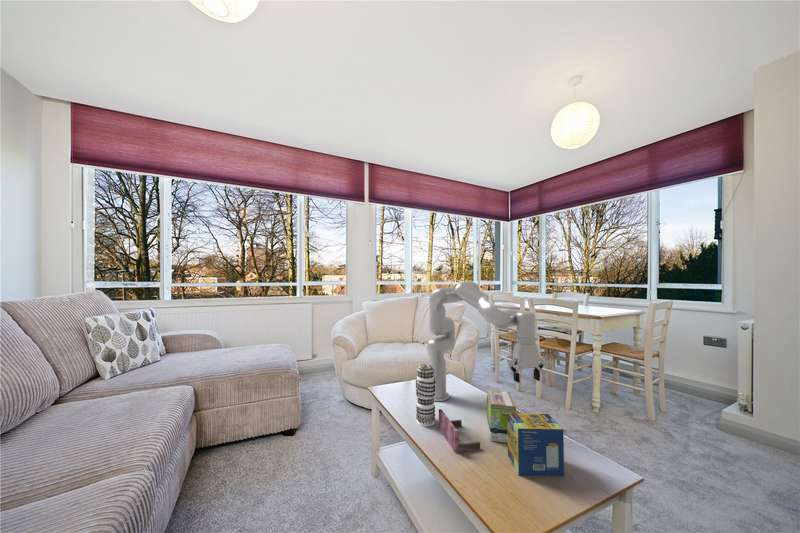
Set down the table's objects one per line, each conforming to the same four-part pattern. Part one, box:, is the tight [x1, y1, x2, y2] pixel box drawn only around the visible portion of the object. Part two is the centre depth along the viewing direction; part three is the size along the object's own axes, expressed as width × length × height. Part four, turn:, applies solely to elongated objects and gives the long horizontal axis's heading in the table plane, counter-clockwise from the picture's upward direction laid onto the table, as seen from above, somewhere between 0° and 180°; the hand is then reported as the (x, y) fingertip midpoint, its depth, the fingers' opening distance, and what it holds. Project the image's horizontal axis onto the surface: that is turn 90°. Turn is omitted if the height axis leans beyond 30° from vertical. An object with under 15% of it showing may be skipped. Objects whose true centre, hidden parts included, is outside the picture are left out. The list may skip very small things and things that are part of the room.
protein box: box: [507, 413, 565, 477], centre depth 100 cm, size 10×15×16 cm
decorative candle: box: [415, 363, 436, 427], centre depth 131 cm, size 9×9×25 cm
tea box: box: [486, 389, 517, 444], centre depth 121 cm, size 15×10×15 cm, turn 168°
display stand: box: [438, 408, 481, 454], centre depth 117 cm, size 18×10×8 cm, turn 12°
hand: (526, 380), depth 124 cm, fingers open, 9 cm apart
